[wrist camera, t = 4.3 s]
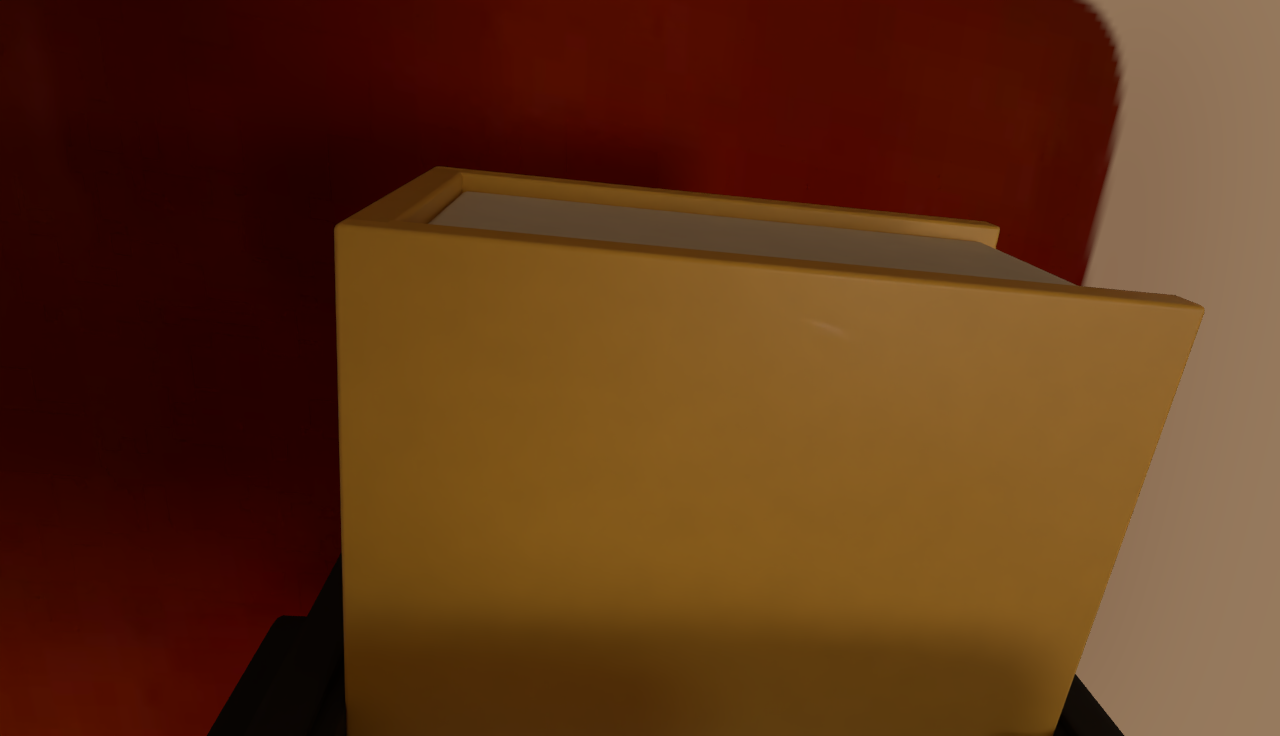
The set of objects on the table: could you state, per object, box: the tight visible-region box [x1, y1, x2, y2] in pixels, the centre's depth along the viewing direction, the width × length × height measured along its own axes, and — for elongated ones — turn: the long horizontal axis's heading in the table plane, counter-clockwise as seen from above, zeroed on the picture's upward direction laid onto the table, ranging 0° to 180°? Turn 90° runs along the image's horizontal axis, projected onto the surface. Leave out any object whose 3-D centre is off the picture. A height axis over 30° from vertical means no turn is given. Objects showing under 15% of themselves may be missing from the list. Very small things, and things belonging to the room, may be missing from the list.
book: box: [334, 166, 1204, 736], centre depth 10 cm, size 12×7×4 cm, turn 174°
